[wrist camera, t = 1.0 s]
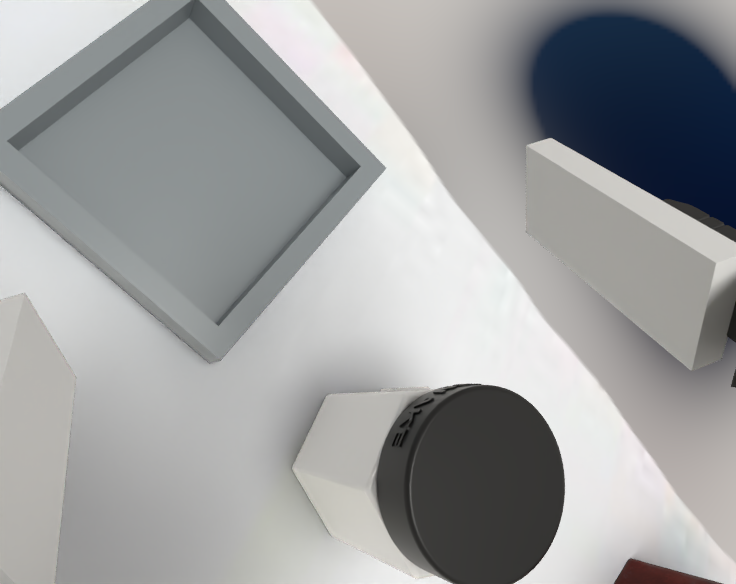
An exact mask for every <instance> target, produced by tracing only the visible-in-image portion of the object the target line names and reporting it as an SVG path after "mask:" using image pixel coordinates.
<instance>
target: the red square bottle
mask: <svg viewBox="0 0 736 584" xmlns="http://www.w3.org/2000/svg"><path fill="white" fill-rule="evenodd" d="M614 584H722V583H718V582H715V581H711V580H707V579H704V578H700V577H696V576H693V575H689V574H686V573H682V572H678V571H675V570H671V569H667V568H664V567H660V566H656V565H653V564H649V563H645V562H642V561H638V560H635V559H629V560H628V562H627V563H626V565H625V567H624V568H623V570H622V572H621V573H620V575H619V576H618V578H617V580H616V581H615V583H614Z"/></svg>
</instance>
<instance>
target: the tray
mask: <svg viewBox="0 0 736 584" xmlns="http://www.w3.org/2000/svg"><path fill="white" fill-rule="evenodd" d="M385 169H386V167H385V166H384V165H383V164H382V163H381V162H380V161H379V160H378V159H377V158H376V157H375V156H374V155H373V154H372V153H371V152H370V151H369V150H368V149H367V148H366V147H365V146H364V144H363V143H362V142H361V141H360V140H359V139H358V138H357V137H356V136H355V135H354V134H353V133H352V132H351V131H350V130H349V129H348V128H347V127H346V126H345V125H344V124H343V123H342V122H341V121H340V119H339V118H338V117H337V116H336V115H335V114H334V113H333V112H332V111H331V110H330V109H329V108H328V107H327V106H326V105H325V104H324V103H323V102H322V101H321V100H320V99H319V98H318V97H317V96H316V94H315V93H314V92H313V91H312V90H311V89H310V88H309V87H308V86H307V85H306V84H305V83H304V82H303V81H302V80H301V79H300V78H299V77H298V76H297V75H296V74H295V73H294V72H293V71H292V69H291V68H290V67H289V66H288V65H287V64H286V63H285V62H284V61H283V60H282V59H281V58H280V57H279V56H278V55H277V54H276V53H275V52H274V51H273V50H272V49H271V48H270V47H269V46H268V45H267V43H266V42H265V41H264V40H263V39H262V38H261V37H260V36H259V35H258V34H257V33H256V32H255V31H254V30H253V29H252V28H251V27H250V26H249V25H248V24H247V23H246V22H245V21H244V20H243V18H242V17H241V16H240V15H239V14H238V13H237V12H236V11H235V10H234V9H233V8H232V7H231V6H230V5H229V4H228V3H227V2H226V1H225V0H150V1H148V2H147V3H145V4H144V5H143V6H141V7H140V8H139V9H137V10H136V11H134V12H133V13H132V14H130V15H129V16H128V17H126V18H125V19H124V20H122V21H121V22H119V23H118V24H117V25H115V26H114V27H113V28H111V29H110V30H108V31H107V32H106V33H104V34H103V35H102V36H100V37H99V38H97V39H96V40H95V41H93V42H92V43H91V44H89V45H88V46H87V47H85V48H84V49H82V50H81V51H80V52H78V53H77V54H76V55H74V56H73V57H71V58H70V59H69V60H67V61H66V62H65V63H63V64H62V65H61V66H59V67H58V68H56V69H55V70H54V71H52V72H51V73H50V74H48V75H47V76H45V77H44V78H43V79H41V80H40V81H39V82H37V83H36V84H35V85H33V86H32V87H30V88H29V89H28V90H26V91H25V92H24V93H22V94H21V95H19V96H18V97H17V98H15V99H14V100H13V101H11V102H10V103H9V104H7V105H6V106H4V107H3V108H2V109H0V185H1V186H2V187H4V188H5V189H6V190H7V191H8V192H9V193H11V194H12V195H13V196H14V197H15V198H16V199H18V200H19V201H20V202H21V203H22V204H23V205H25V206H26V207H27V208H28V209H29V210H30V211H32V212H33V213H34V214H35V215H36V216H38V217H39V218H40V219H41V220H42V221H43V222H45V223H46V224H47V225H48V226H49V227H50V228H52V229H53V230H54V231H55V232H56V233H57V234H59V235H60V236H61V237H62V238H63V239H64V240H66V241H67V242H68V243H69V244H70V245H72V246H73V247H74V248H75V249H76V250H77V251H79V252H80V253H81V254H82V255H83V256H84V257H86V258H87V259H88V260H89V261H90V262H91V263H93V264H94V265H95V266H96V267H97V268H98V269H100V270H101V271H102V272H103V273H104V274H106V275H107V276H108V277H109V278H110V279H111V280H113V281H114V282H115V283H116V284H117V285H118V286H120V287H121V288H122V289H123V290H124V291H125V292H127V293H128V294H129V295H130V296H131V297H132V298H134V299H135V300H136V301H137V302H138V303H140V304H141V305H142V306H143V307H144V308H145V309H147V310H148V311H149V312H150V313H151V314H152V315H154V316H155V317H156V318H157V319H158V320H159V321H161V322H162V323H163V324H164V325H165V326H167V327H168V328H169V329H170V330H171V331H172V332H174V333H175V334H176V335H177V336H178V337H179V338H181V339H182V340H183V341H184V342H185V343H186V344H188V345H189V346H190V347H191V348H192V349H193V350H195V351H196V352H197V353H198V354H199V355H201V356H202V357H203V358H204V359H205V360H206V361H208V362H209V363H213V362H216V361H220V360H221V359H222V358H223V357H224V356H225V355H226V354H227V352H228V351H229V350H230V349H231V348H232V347H233V346H234V344H235V343H236V342H237V341H238V340H239V339H240V337H241V336H242V335H243V334H244V333H245V332H246V330H247V329H248V328H249V327H250V326H251V325H252V323H253V322H254V321H255V320H256V319H257V318H258V317H259V315H260V314H261V313H262V312H263V311H264V310H265V308H266V307H267V306H268V305H269V304H270V303H271V301H272V300H273V299H274V298H275V297H276V296H277V294H278V293H279V292H280V291H281V290H282V289H283V288H284V286H285V285H286V284H287V283H288V282H289V281H290V279H291V278H292V277H293V276H294V275H295V274H296V272H297V271H298V270H299V269H300V268H301V267H302V265H303V264H304V263H305V262H306V261H307V260H308V259H309V257H310V256H311V255H312V254H313V253H314V252H315V250H316V249H317V248H318V247H319V246H320V245H321V243H322V242H323V241H324V240H325V239H326V238H327V236H328V235H329V234H330V233H331V232H332V231H333V230H334V228H335V227H336V226H337V225H338V224H339V223H340V221H341V220H342V219H343V218H344V217H345V216H346V214H347V213H348V212H349V211H350V210H351V209H352V207H353V206H354V205H355V204H356V203H357V202H358V201H359V199H360V198H361V197H362V196H363V195H364V194H365V192H366V191H367V190H368V189H369V188H370V187H371V185H372V184H373V183H374V182H375V181H376V180H377V178H378V177H379V176H380V175H381V174H382V173H383V172H384V170H385Z"/></svg>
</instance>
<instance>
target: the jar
mask: <svg viewBox="0 0 736 584" xmlns="http://www.w3.org/2000/svg"><path fill="white" fill-rule="evenodd" d="M292 470H293V472H294V474H295V475H296V477H297V479H298V481H299V482H300V484H301V486H302V487H303V489H304V491H305V492H306V494H307V496H308V497H309V499H310V501H311V503H312V504H313V506H314V508H315V509H316V511H317V513H318V514H319V516H320V518H321V520H322V521H323V523H324V525H325V526H326V528H327V530H328V532H329V533H330V535H331V536H332V537H334V538H336V539H338V540H340V541H342V542H344V543H346V544H348V545H350V546H352V547H354V548H356V549H358V550H360V551H362V552H364V553H365V554H367V555H369V556H371V557H373V558H375V559H377V560H379V561H381V562H383V563H385V564H387V565H389V566H391V567H393V568H395V569H397V570H399V571H401V572H403V573H405V574H407V575H409V576H411V577H413V578H415V579H421V578H426V577H431V576H438V577H440V578H442V579H444V580H446V581H448V582H450V583H453V584H513V583H515V582H517V581H519V580H520V579H522V578H523V577H524V576H526V575H527V574H528V573H529V572H530V571H531V570H533V569H534V568H535V567H536V565H537V564H538V563H539V562H540V561H541V559H542V558H543V557H544V555H545V554H546V552H547V551H548V549H549V547H550V546H551V544H552V542H553V540H554V537H555V535H556V532H557V530H558V527H559V524H560V520H561V516H562V512H563V505H564V495H565V479H564V469H563V463H562V458H561V454H560V451H559V447H558V445H557V442H556V439H555V437H554V435H553V433H552V431H551V429H550V427H549V425H548V424H547V422H546V421H545V419H544V418H543V416H542V415H541V414H540V413H539V412H538V410H537V409H536V408H535V407H534V406H533V405H532V404H531V403H529V402H528V401H527V400H526V399H524V398H523V397H521V396H520V395H518V394H516V393H515V392H513V391H510V390H508V389H505V388H502V387H498V386H492V385H481V384H457V385H453V386H447V387H443V388H439V389H430V388H429V387H408V388H386V389H381V390H380V391H379V392H358V393H338V394H328V395H327V396H326V397H325V400H324V402H323V404H322V406H321V408H320V410H319V412H318V414H317V416H316V418H315V420H314V422H313V425H312V427H311V429H310V431H309V433H308V435H307V437H306V439H305V441H304V443H303V445H302V447H301V450H300V452H299V454H298V456H297V458H296V460H295V462H294V464H293V466H292Z"/></svg>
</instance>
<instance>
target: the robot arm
mask: <svg viewBox="0 0 736 584" xmlns="http://www.w3.org/2000/svg"><path fill="white" fill-rule="evenodd" d="M526 233H527V234H529V235H530V236H531V237H532V238H533V239H534V240H536V241H537V242H538V243H539V244H540V245H542V246H543V247H544V248H545V249H546V250H548V251H549V252H550V253H551V254H552V255H554V256H555V257H556V258H557V259H558V260H560V261H561V262H562V263H563V264H564V265H566V266H567V267H568V268H569V269H570V270H571V271H573V272H574V273H575V274H576V275H577V276H579V277H580V278H581V279H582V280H583V281H585V282H586V283H587V284H589V285H590V286H591V287H592V288H593V289H594V290H595V291H597V292H598V293H599V294H600V295H601V296H603V297H604V298H605V299H606V300H607V301H609V302H610V303H611V304H612V305H613V306H615V307H616V308H617V309H618V310H619V311H620V312H622V313H623V314H624V315H625V316H627V317H628V318H629V319H630V320H631V321H632V322H634V323H635V324H636V325H637V326H638V327H640V328H641V329H642V330H643V331H644V332H646V333H647V334H648V335H649V336H650V337H652V338H653V339H654V340H655V341H656V342H657V343H659V344H660V345H661V346H662V347H663V348H665V349H666V350H667V351H668V352H669V353H671V354H672V355H673V356H674V357H676V358H677V359H678V360H679V361H680V362H682V363H683V364H684V365H685V366H686V367H687V368H689V369H690V370H691V371H693V370H695V369H698V368H701V367H703V366H705V365H709V364H711V363H714V362H716V361H719V360H721V359H722V357H723V353H724V349H725V345H726V342H727V338H728V337H729V338H731V339H732V340H733V341H734V342H736V230H735V229H734V228H732V227H730V226H728V225H726V226H724V223H723V222H721V221H719V220H717V219H715V218H714V217H711V218H710V217H709V215H708V214H706V213H704V212H703V211H700V210H699V209H697V208H695V207H693V206H691V205H688V204H685V203H681V202H677V201H674V200H670V199H666V200H663V201H661V200H659V199H658V198H656V197H654V196H653V195H651V194H649V193H647V192H646V191H644V190H642V189H640V188H639V187H637V186H635V185H633V184H631V183H630V182H628V181H626V180H624V179H623V178H621V177H619V176H617V175H616V174H614V173H612V172H610V171H608V170H607V169H605V168H603V167H601V166H600V165H598V164H596V163H594V162H593V161H591V160H589V159H587V158H586V157H584V156H582V155H580V154H578V153H577V152H575V151H573V150H571V149H569V148H568V147H566V146H564V145H563V144H561V143H559V142H557V141H555V140H554V139H552V138H549V139H546V140H542V141H539V142H536V143H532V144H529V145H526ZM75 385H76V376H75V374H74V373H73V371H72V369H71V368H70V366H69V365H68V363H67V361H66V360H65V358H64V356H63V355H62V353H61V351H60V350H59V348H58V346H57V345H56V343H55V341H54V340H53V338H52V336H51V335H50V333H49V332H48V330H47V328H46V327H45V325H44V323H43V322H42V320H41V318H40V317H39V315H38V313H37V312H36V310H35V308H34V307H33V305H32V303H31V302H30V300H29V298H28V297H27V295H26V294H25V293H22V294H19V295H16V296H12V297H9V298H5V299H2V300H0V584H55V577H56V568H57V558H58V549H59V539H60V529H61V520H62V510H63V500H64V491H65V481H66V471H67V462H68V452H69V443H70V433H71V423H72V414H73V404H74V394H75ZM731 387H736V369H735V373H734V376H733V380H732V384H731Z"/></svg>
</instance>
